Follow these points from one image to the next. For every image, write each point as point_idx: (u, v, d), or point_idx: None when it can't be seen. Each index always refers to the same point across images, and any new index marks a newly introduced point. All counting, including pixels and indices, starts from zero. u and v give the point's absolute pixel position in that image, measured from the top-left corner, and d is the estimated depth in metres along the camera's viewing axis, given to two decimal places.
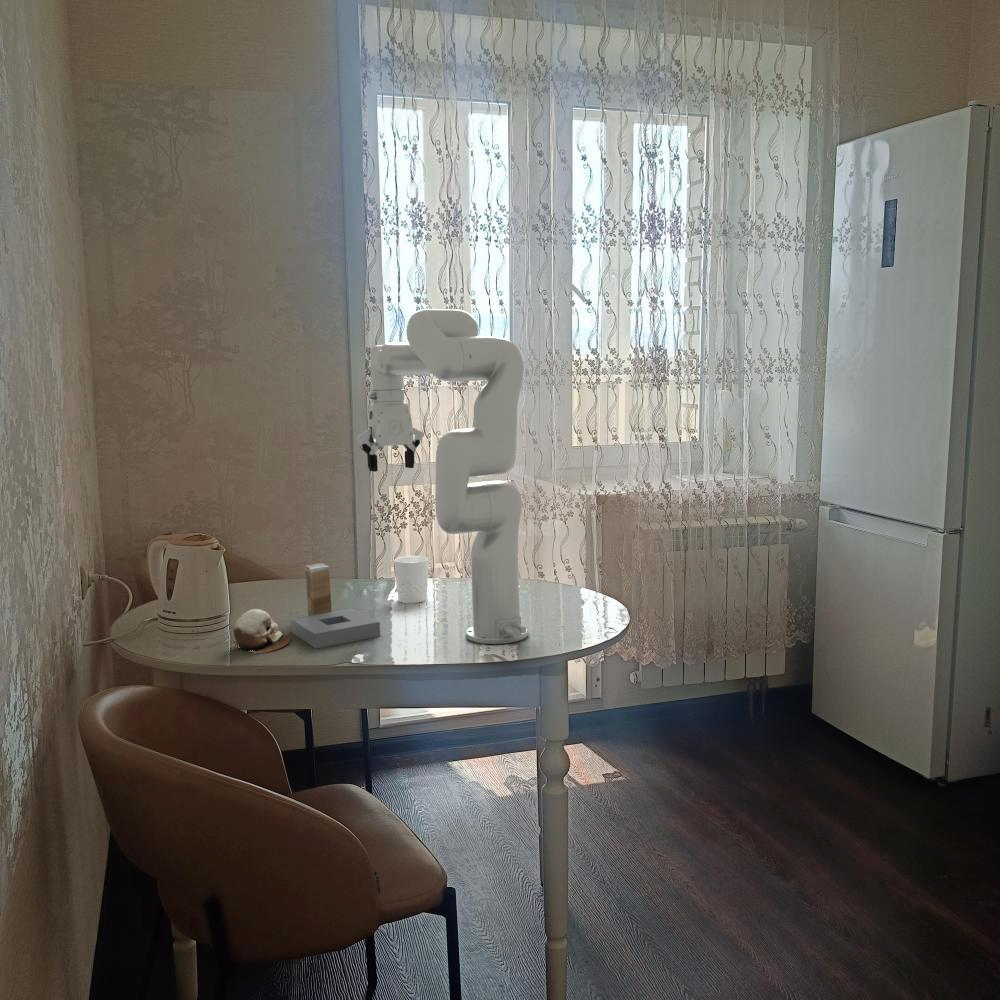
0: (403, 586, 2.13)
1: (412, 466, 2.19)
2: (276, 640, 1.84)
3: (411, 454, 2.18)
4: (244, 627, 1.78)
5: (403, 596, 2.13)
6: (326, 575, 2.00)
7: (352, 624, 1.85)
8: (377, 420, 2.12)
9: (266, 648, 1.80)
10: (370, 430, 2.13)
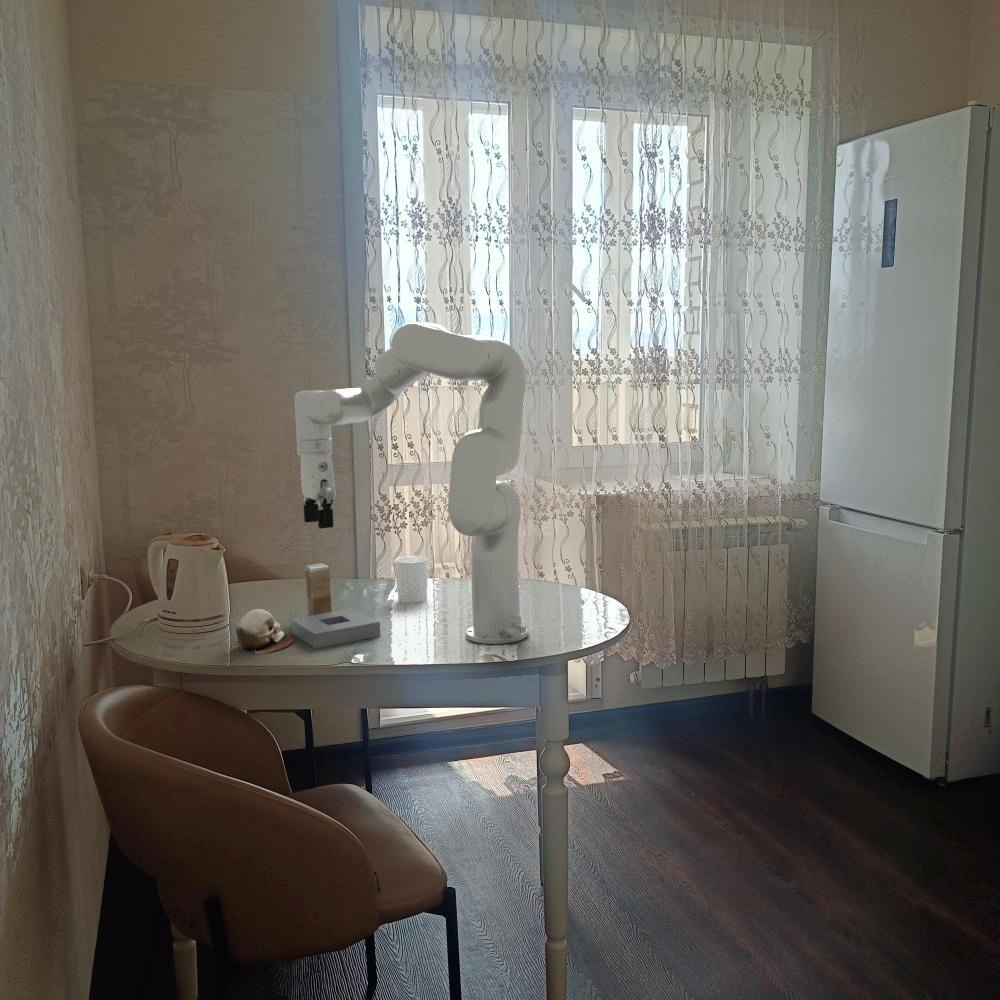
0: (403, 586, 2.13)
1: (318, 519, 2.05)
2: (279, 640, 1.84)
3: (317, 506, 2.05)
4: (247, 627, 1.78)
5: (403, 596, 2.13)
6: (326, 575, 2.00)
7: (352, 624, 1.85)
8: (333, 471, 1.96)
9: (269, 648, 1.80)
10: None
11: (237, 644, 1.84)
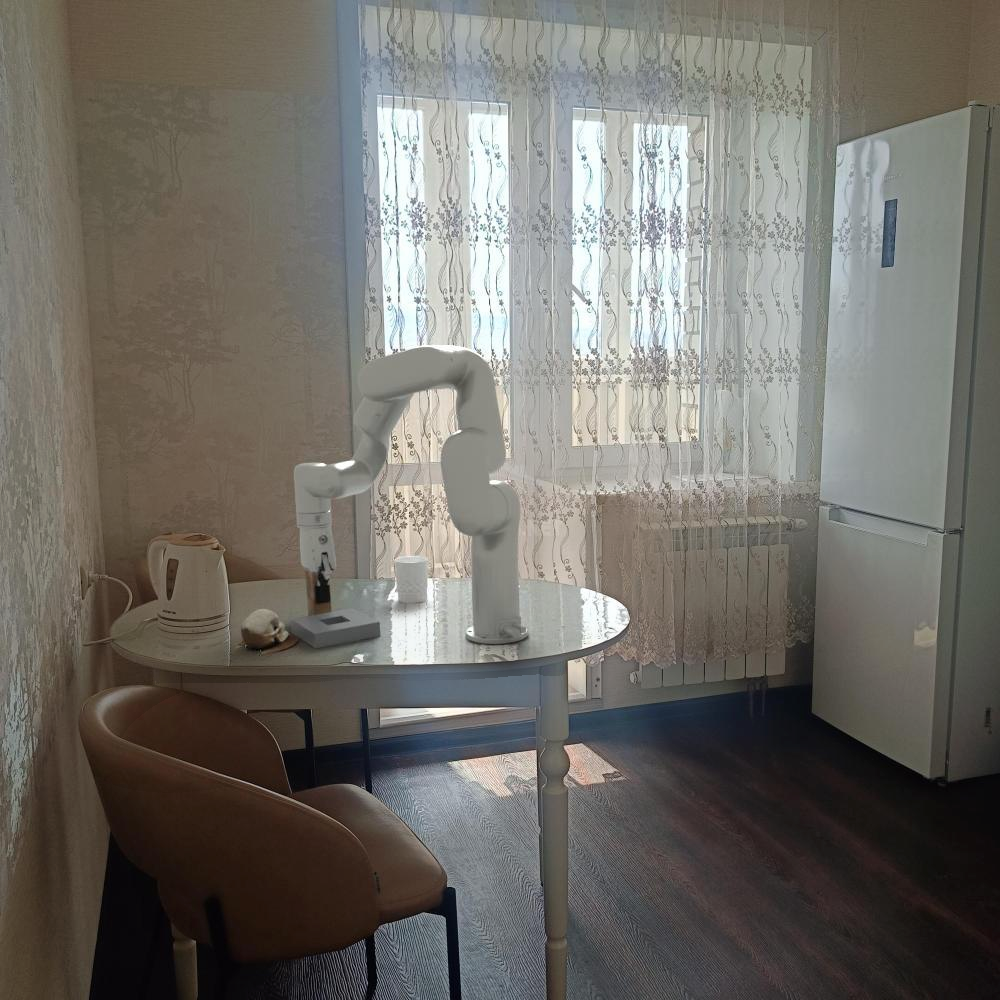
0: (403, 586, 2.13)
1: None
2: (283, 640, 1.84)
3: None
4: (252, 627, 1.78)
5: (403, 596, 2.13)
6: None
7: (352, 624, 1.85)
8: (333, 543, 1.97)
9: (274, 648, 1.80)
10: None
11: (242, 644, 1.84)
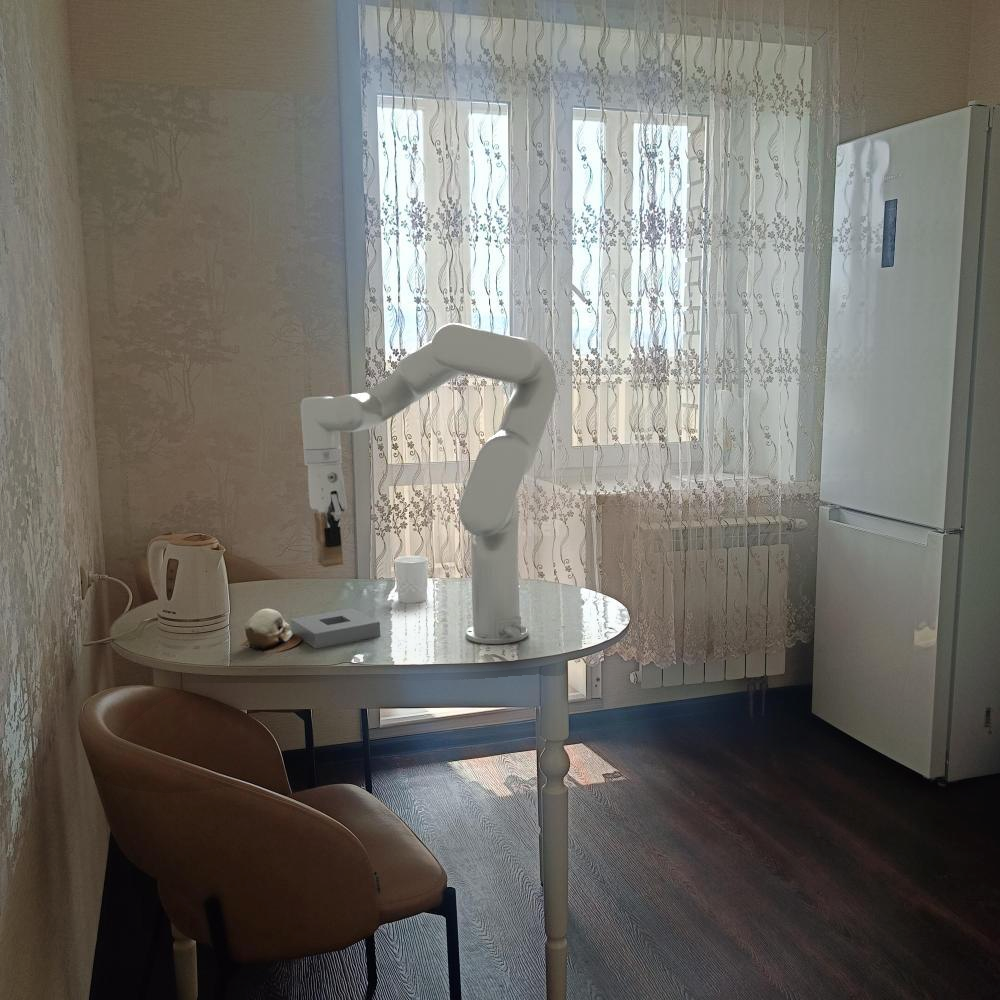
0: (403, 586, 2.13)
1: None
2: (287, 639, 1.84)
3: None
4: (256, 627, 1.79)
5: (403, 596, 2.13)
6: None
7: (352, 624, 1.85)
8: (343, 482, 1.85)
9: (278, 647, 1.80)
10: None
11: (246, 644, 1.84)
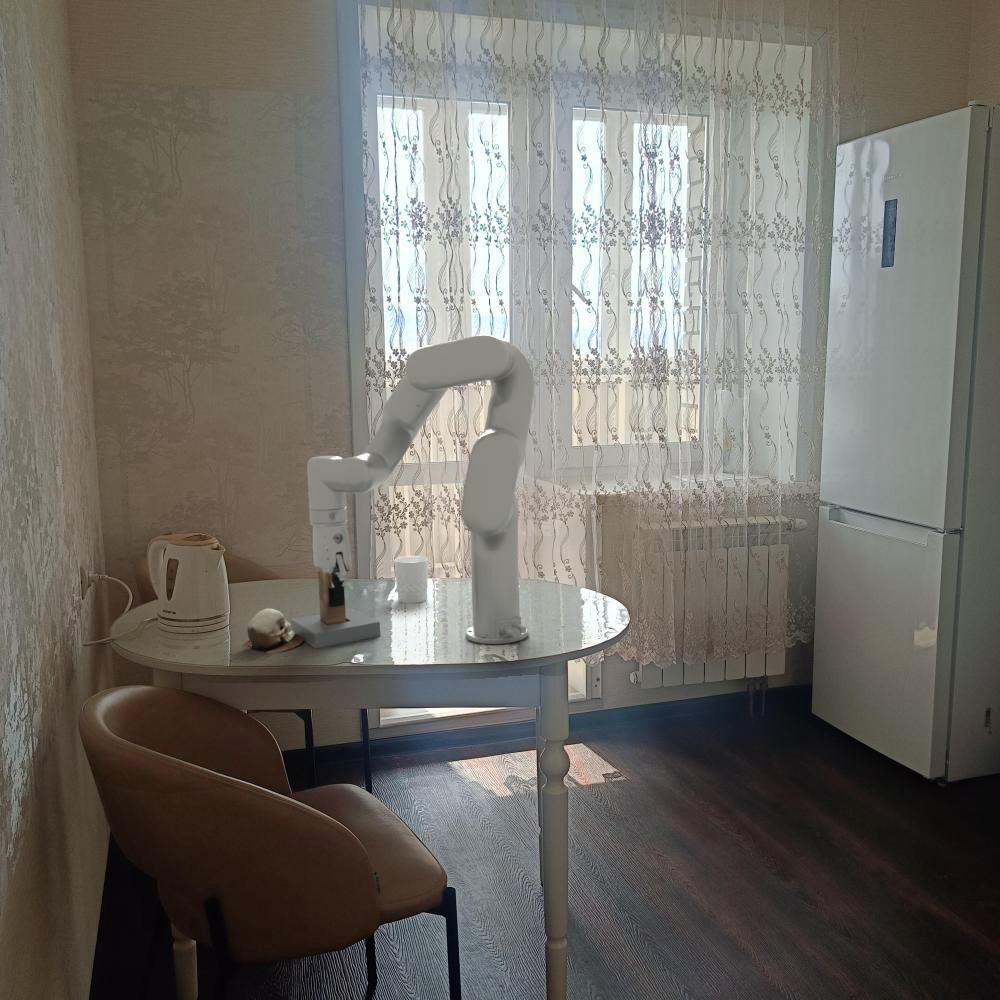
0: (403, 586, 2.13)
1: None
2: (289, 639, 1.84)
3: None
4: (258, 627, 1.78)
5: (403, 596, 2.13)
6: None
7: (352, 624, 1.85)
8: None
9: (280, 647, 1.80)
10: None
11: (248, 644, 1.84)
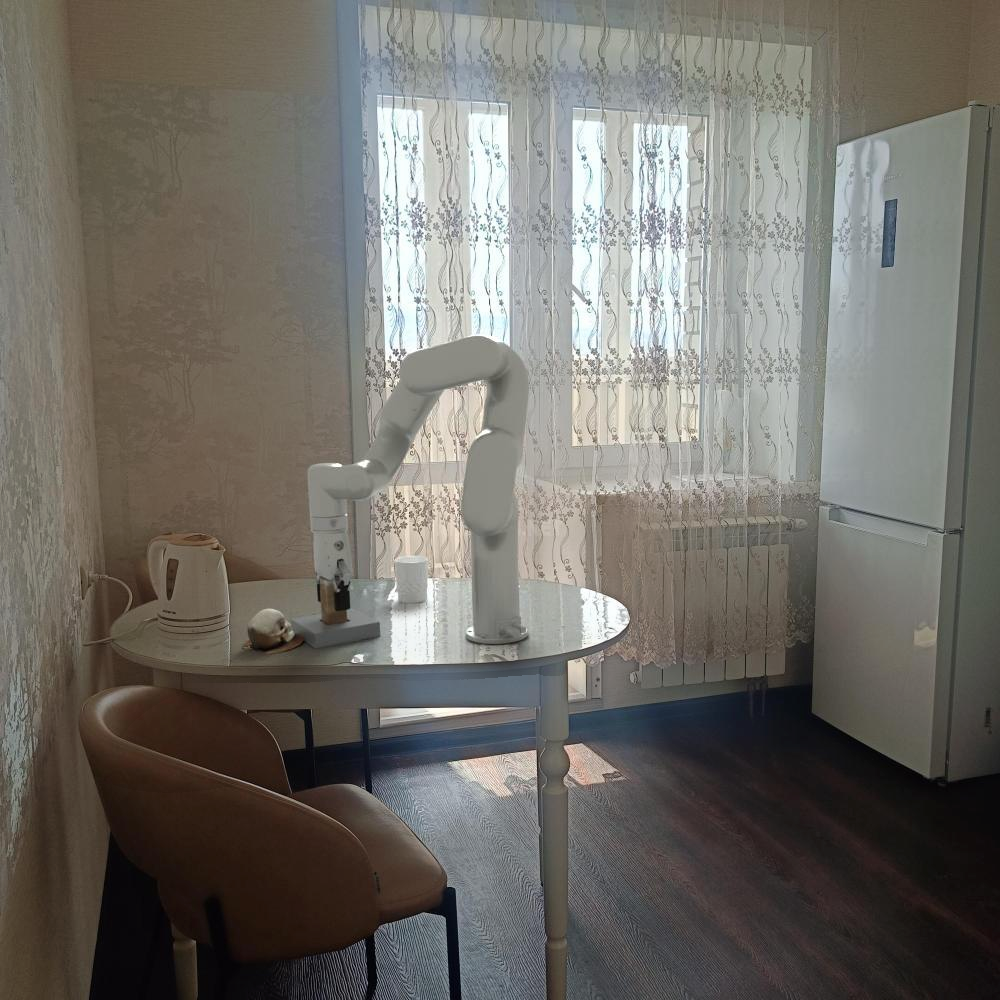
0: (403, 586, 2.13)
1: None
2: (289, 639, 1.84)
3: None
4: (259, 627, 1.78)
5: (403, 596, 2.13)
6: None
7: (352, 624, 1.85)
8: None
9: (280, 647, 1.80)
10: None
11: (248, 644, 1.84)
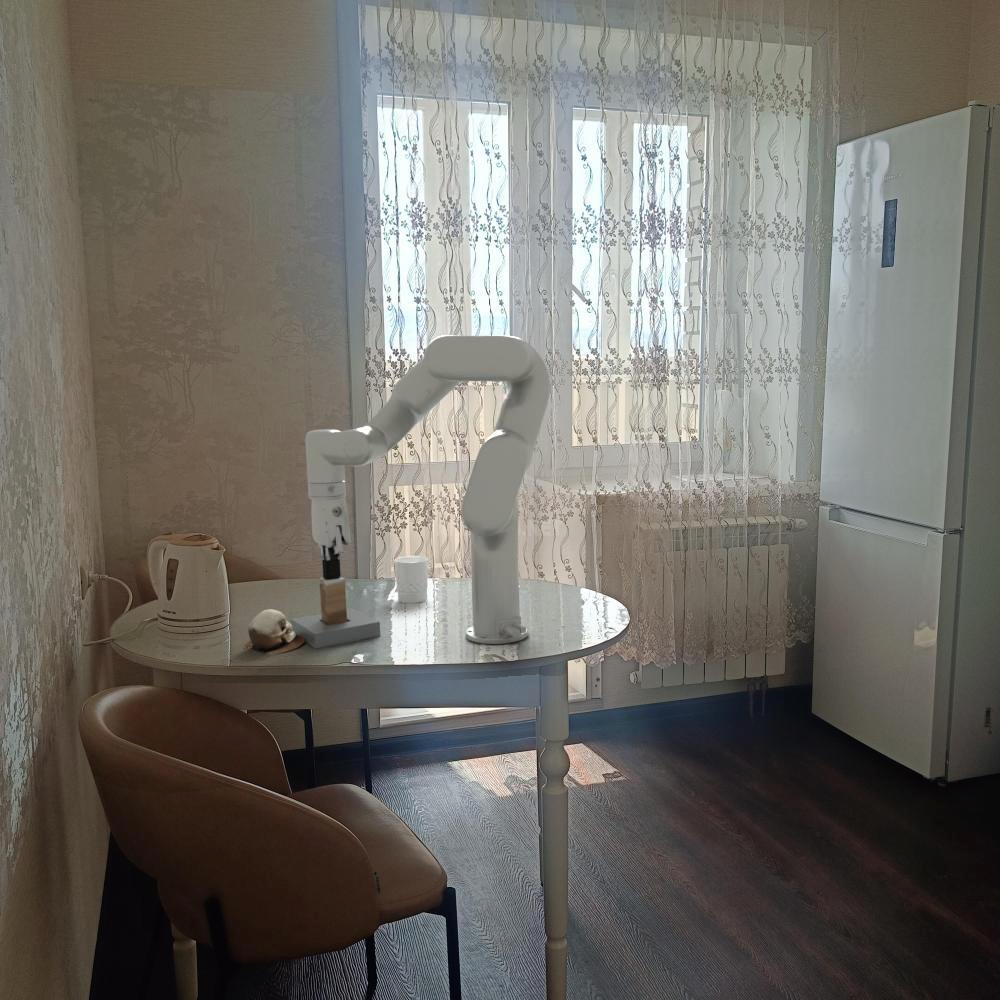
0: (403, 586, 2.13)
1: None
2: (291, 640, 1.83)
3: None
4: (260, 628, 1.78)
5: (403, 596, 2.13)
6: (342, 588, 1.87)
7: (352, 624, 1.85)
8: None
9: (281, 648, 1.80)
10: None
11: (249, 644, 1.83)
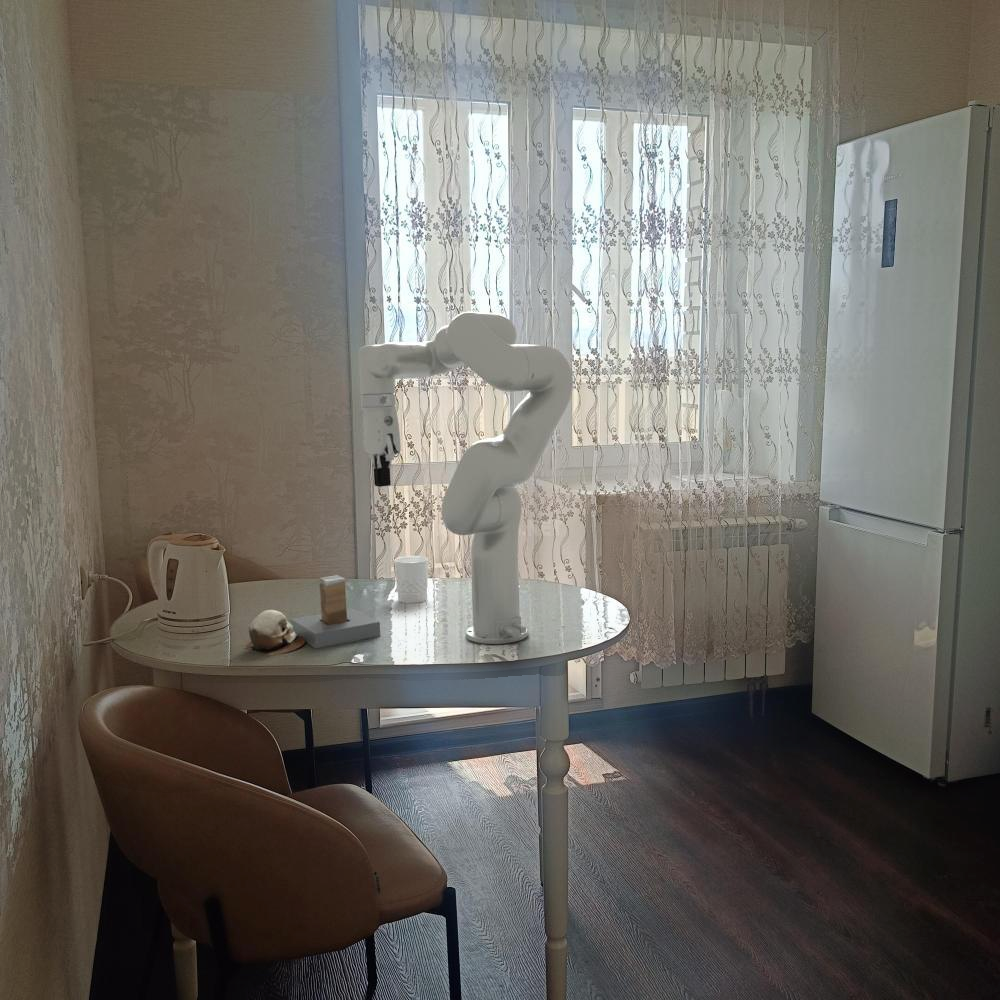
0: (403, 586, 2.13)
1: None
2: (291, 641, 1.83)
3: None
4: (260, 628, 1.77)
5: (403, 596, 2.13)
6: (342, 588, 1.87)
7: (352, 624, 1.85)
8: (398, 425, 1.96)
9: (282, 649, 1.79)
10: None
11: (249, 645, 1.83)
